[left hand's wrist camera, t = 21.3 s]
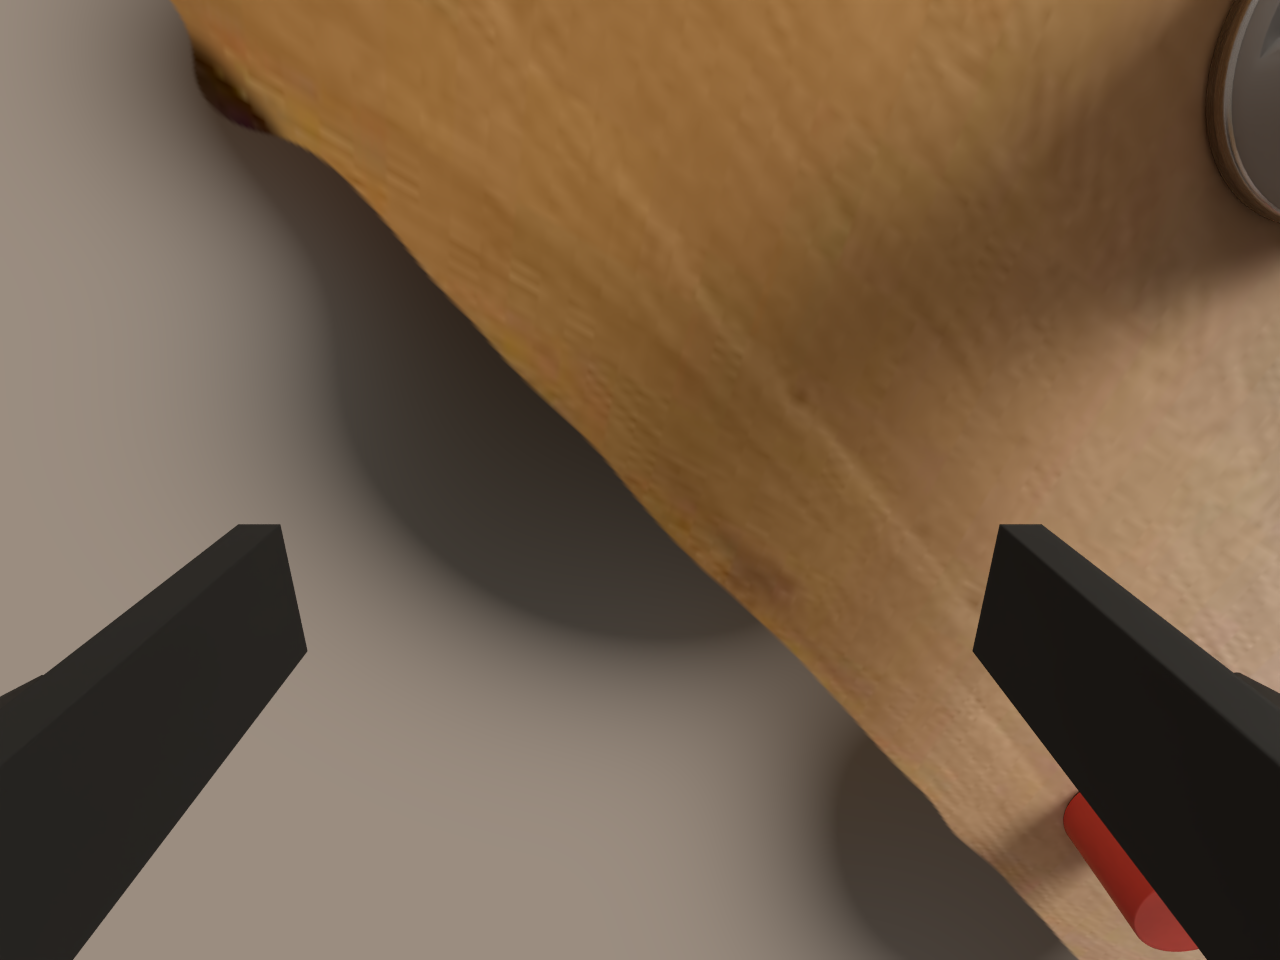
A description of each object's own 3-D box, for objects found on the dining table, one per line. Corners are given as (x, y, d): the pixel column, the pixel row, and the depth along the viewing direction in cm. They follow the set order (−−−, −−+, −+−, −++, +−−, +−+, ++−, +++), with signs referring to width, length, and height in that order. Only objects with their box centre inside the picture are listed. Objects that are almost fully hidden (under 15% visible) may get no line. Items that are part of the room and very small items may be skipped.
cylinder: (1144, 850, 51) (1226, 954, 44) (1050, 845, 51) (1118, 949, 44) (1178, 777, 48) (1271, 875, 41) (1079, 772, 48) (1156, 869, 41)
